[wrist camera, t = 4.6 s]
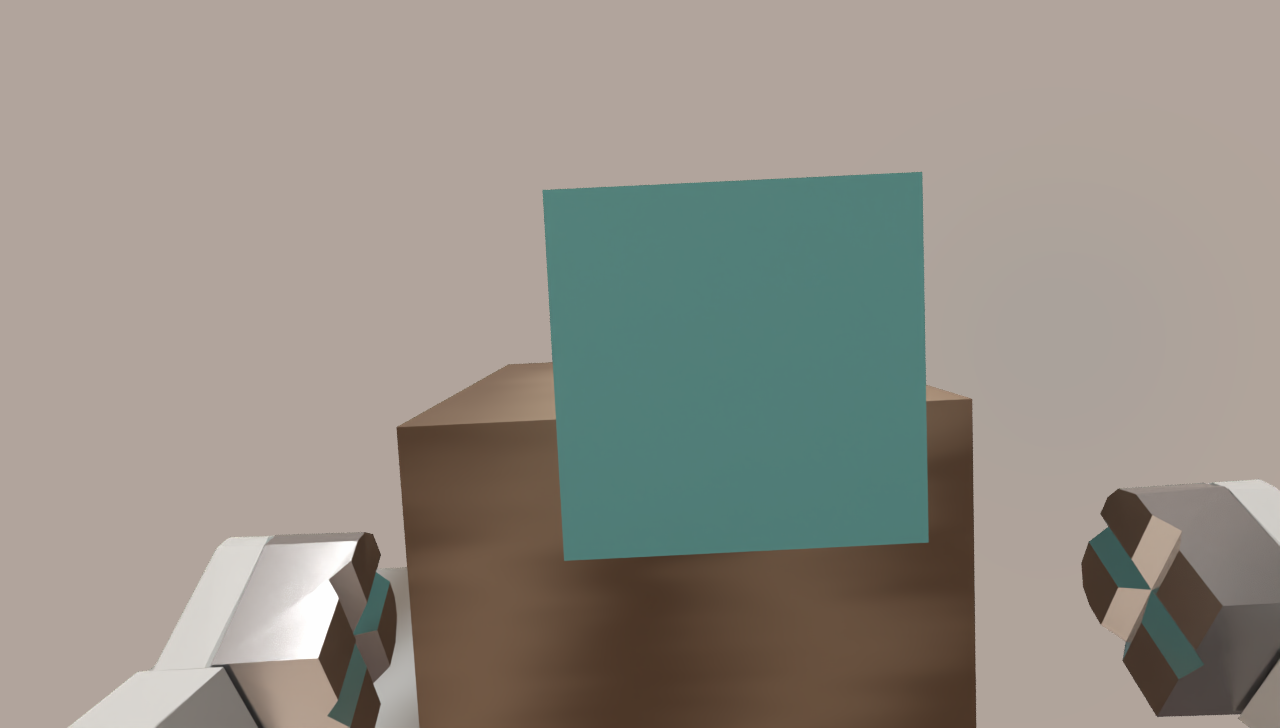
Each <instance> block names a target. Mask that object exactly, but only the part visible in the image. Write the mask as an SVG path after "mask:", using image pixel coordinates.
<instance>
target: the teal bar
mask: <svg viewBox="0 0 1280 728" xmlns="http://www.w3.org/2000/svg"><path fill="white" fill-rule="evenodd" d="M543 205H544V222H545V237H546V238H545V239H546V257H547V273H548V291H549V306H550V307H549V308H550V325H551V341H552V360H553V377H554V394H555V412H556V429H557V446H558V463H559V480H560V498H561V515H562V532H563V549H564V561H570V560H590V559H610V558H630V557H650V556H670V555H690V554H710V553H730V552H749V551H769V550H789V549H809V548H829V547H849V546H869V545H889V544H908V543H928V542H929V535H928V478H927V420H926V364H925V306H924V250H923V249H924V247H923V194H922V172H912V173H890V174H869V175H848V176H828V177H807V178H787V179H786V178H785V179H765V180H744V181H724V182H702V183H681V184H660V185H639V186H619V187H597V188H576V189H555V190H543Z"/></svg>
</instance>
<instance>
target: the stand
mask: <svg viewBox="0 0 1280 728" xmlns="http://www.w3.org/2000/svg"><path fill="white" fill-rule="evenodd" d="M926 420H927V478H928V535H929V542H928V543H908V544H889V545H869V546H849V547H829V548H809V549H789V550H769V551H749V552H730V553H710V554H690V555H670V556H650V557H630V558H610V559H590V560H570V561H564V549H563V532H562V515H561V498H560V480H559V463H558V446H557V429H556V412H555V394H554V377H553V362H550V363H529V364H511V365H510V364H509V365H507V366H505V367H503V368H501V369H500V370H498V371H496V372H494V373H492V374H491V375H489V376H487V377H486V378H484V379H482V380H480V381H478V382H476V383H475V384H473V385H472V386H469V387H468V388H466V389H464V390H462V391H461V392H459V393H457V394H455V395H453V396H452V397H450V398H448V399H446V400H444V401H443V402H441V403H439V404H437V405H435V406H434V407H432V408H430V409H428V410H427V411H425V412H423V413H421V414H419V415H418V416H416V417H414V418H412V419H411V420H409V421H407V422H405V423H403V424H402V425H400V426H398V427H397V438H398V451H399V465H400V478H401V489H402V505H403V517H404V530H405V544H406V558H407V567H405V568H385V569H377V570H376V572H377V573H378V574H380V575H381V576H383V577H384V578H385V579H387V580H388V581H390V583H391V586H392V590H393V593H394V596H395V603H396V610H397V627H396V643H395V647H394V652H393V656H392V660H391V665H390V667H389V668H388V669H387V670H386V671H385V672H384V673H383V674H382V675H381V676H380V677H379V678H378V679H377V680H376V681H375V682H374V683H373V684H374V687H375V689H376V692H377V695H378V697H379V700H380V703H381V706H380V710H379V714H378V718H377V721H376V725H375V728H976V674H975V593H974V515H973V513H974V512H973V511H974V509H973V432H972V399H971V398H968V397H964V396H961V395H958V394H954V393H951V392H948V391H945V390H941V389H938V388H935V387H932V386H928V385H926ZM154 667H155V666H154ZM154 667H153V668H151V669H150V670H149V671H152V670H153V669H154Z"/></svg>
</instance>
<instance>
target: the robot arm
mask: <svg viewBox="0 0 1280 728" xmlns="http://www.w3.org/2000/svg"><path fill="white" fill-rule="evenodd" d="M1101 516H1102V517H1103V519H1104V520H1105V522H1106V523H1107V525H1108V528H1106V529H1105V530H1104V531H1102V532H1101V533H1100V534H1098V535H1097V536H1096V537H1095V538H1093V539H1092V540H1091V541H1089V543H1088V546H1087V549H1086V551H1085V554H1084V557H1083V560H1082V577H1083V588H1084V590H1085V593H1086V596H1087V599H1088V602H1089V605H1090V607H1091V609H1092V610H1093V612H1094V613H1095V615H1096V617H1097V619H1098V620H1099V622H1100V624H1101V625H1102V626H1103V627H1105V628H1106V629H1108V630H1109V631H1111V632H1112V633H1114V634H1115V635H1117V636H1118V637H1119V638H1121V639H1123V640H1124V641H1125V642H1126V644H1125V650H1124V655H1123V662H1124V664H1125V665H1126V667H1127V669H1128V670H1129V672H1130V674H1131V675H1132V677H1133V678H1134V680H1135V682H1136V683H1137V685H1138V687H1139V688H1140V690H1141V691H1142V693H1143V695H1144V696H1145V698H1146V700H1147V701H1148V703H1149V705H1150V706H1151V708H1152V709H1153V711H1154V712H1155V714H1156V716H1157V717H1164V716H1197V715H1229V714H1241V715H1240V716H1239V718H1238V719H1239V720H1241V721H1242V722H1243V723H1245V724H1246V725H1247V726H1248V727H1250V728H1280V491H1279V490H1278V489H1277V488H1275V487H1274V486H1272V485H1270V484H1268V483H1266V482H1264V481H1262V480H1245V481H1230V482H1214V483H1209V484H1206V483H1195V484H1182V485H1181V484H1180V485H1166V486H1151V487H1138V488H1137V487H1136V488H1123V489H1117V490H1116V491H1115V492H1114V493H1112V494H1111V495H1110V496H1109V497H1108V498H1107V500H1106V502H1105V505H1104V507H1103V510H1102V511H1101ZM380 556H381V554H380V551H379V549H378V546H377V543H376V541H375V538H374V536H373V534H370V533H366V532H361V533H360V532H358V533H326V534H296V535H295V534H294V535H275V536H257V537H230V538H228V539H227V540H226V541H224V542H223V543H222V544H221V545H220V546H219V547H218V548H217V549H216V550H215V552H214V554H213V556H212V558H211V560H210V562H209V564H208V565H207V567H206V569H205V571H204V573H203V575H202V577H201V579H200V581H199V583H198V584H197V586H196V588H195V590H194V592H193V594H192V596H191V598H190V600H189V602H188V604H187V606H186V607H185V610H184V611H183V613H182V615H181V617H180V619H179V621H178V623H177V625H176V627H175V629H174V630H173V632H172V635H171V636H170V638H169V640H168V642H167V644H166V646H165V648H164V650H163V652H162V654H161V656H160V657H159V659H158V661H157V663H156V665H155V667H154V669H153V670H152V671H141V672H137V673H135V674H134V675H133V676H132V677H130V678H129V679H128V680H127V681H126V682H124V683H123V684H122V685H120V686H119V687H118V688H117V689H116V690H114V691H113V692H112V693H111V694H109V695H108V696H107V697H106V698H104V699H103V700H102V701H100V702H99V703H98V704H97V705H95V706H94V707H93V708H92V709H90V710H89V711H88V712H87V713H85V714H84V715H83V716H82V717H80V718H79V719H78V720H77V721H75V723H73V724H72V725H70V726H69V727H68V728H375V725H376V721H377V718H378V714H379V710H380V706H381V703H380V700H379V697H378V695H377V692H376V689H375V687H374V684H373V683H374V682H375V681H376V680H377V679H378V678H379V677H380V676H381V675H382V674H383V673H384V672H385V671H386V670H387V669H388V668H389V667H390V665H391V660H392V656H393V652H394V647H395V643H396V627H397V610H396V603H395V596H394V593H393V590H392V586H391V583H390V581H388V580H387V579H385V578H384V577H383V576H381V575H380V574H378V573H377V572H376V570H377V567H378V563H379V560H380Z"/></svg>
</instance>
